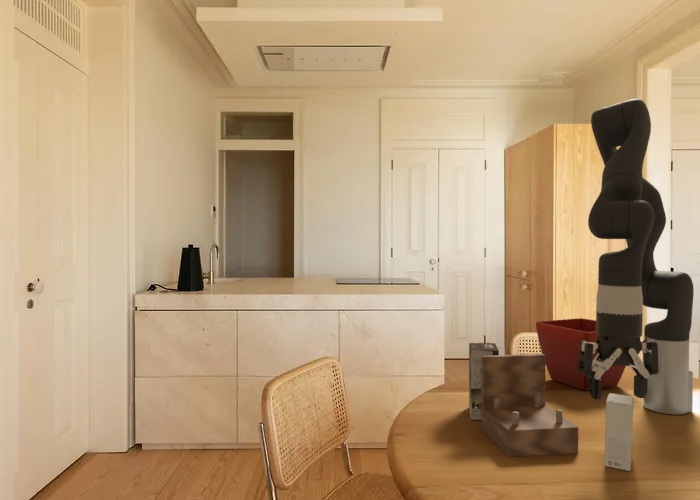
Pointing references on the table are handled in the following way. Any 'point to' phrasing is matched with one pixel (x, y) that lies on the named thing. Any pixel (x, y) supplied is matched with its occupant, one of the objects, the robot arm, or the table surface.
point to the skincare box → (619, 431)
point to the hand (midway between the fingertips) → (617, 397)
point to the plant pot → (571, 351)
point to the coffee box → (477, 375)
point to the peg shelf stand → (522, 408)
